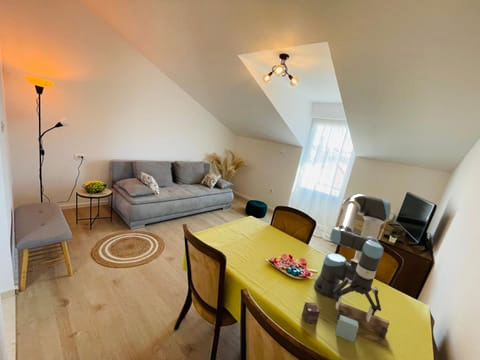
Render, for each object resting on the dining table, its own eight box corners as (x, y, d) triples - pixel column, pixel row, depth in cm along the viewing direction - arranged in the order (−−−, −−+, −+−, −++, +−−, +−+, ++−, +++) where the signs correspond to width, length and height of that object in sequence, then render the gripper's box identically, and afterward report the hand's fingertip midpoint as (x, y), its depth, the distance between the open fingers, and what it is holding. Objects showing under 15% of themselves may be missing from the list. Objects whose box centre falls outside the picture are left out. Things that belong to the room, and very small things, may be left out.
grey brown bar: (336, 325, 117) (340, 312, 115) (336, 314, 124) (340, 302, 122) (387, 346, 109) (392, 333, 107) (383, 333, 116) (388, 320, 115)
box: (313, 314, 121) (316, 303, 120) (316, 324, 116) (320, 312, 114) (301, 313, 121) (305, 301, 119) (305, 322, 115) (308, 310, 114)
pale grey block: (335, 334, 111) (340, 319, 109) (335, 329, 114) (340, 314, 112) (353, 342, 109) (358, 327, 106) (352, 336, 112) (357, 321, 110)
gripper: (335, 269, 104) (324, 307, 109) (398, 290, 96) (382, 331, 100) (335, 261, 111) (324, 297, 115) (393, 280, 102) (379, 318, 107)
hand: (351, 313), depth 108 cm, fingers open, 13 cm apart
